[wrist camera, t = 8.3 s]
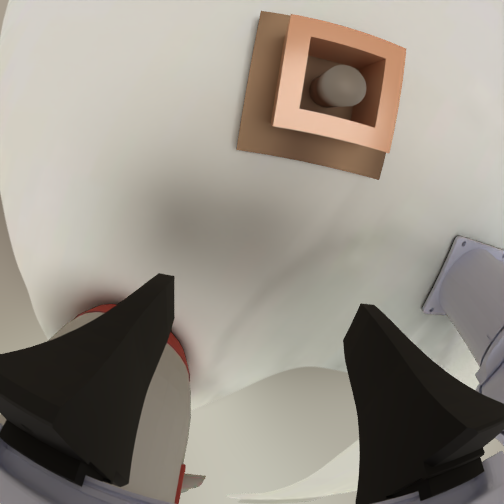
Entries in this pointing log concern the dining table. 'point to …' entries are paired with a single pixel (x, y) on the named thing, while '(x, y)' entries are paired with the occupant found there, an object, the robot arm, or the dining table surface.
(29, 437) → the robot arm
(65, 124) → the dining table surface
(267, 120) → the post stand
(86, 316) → the citrus juicer
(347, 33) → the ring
